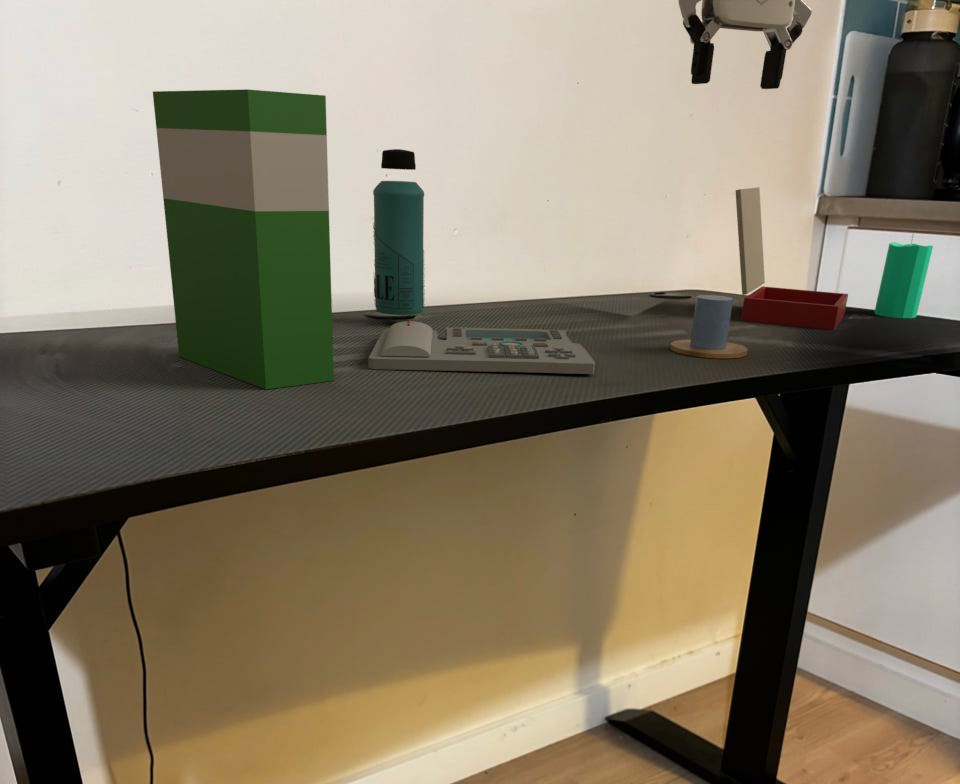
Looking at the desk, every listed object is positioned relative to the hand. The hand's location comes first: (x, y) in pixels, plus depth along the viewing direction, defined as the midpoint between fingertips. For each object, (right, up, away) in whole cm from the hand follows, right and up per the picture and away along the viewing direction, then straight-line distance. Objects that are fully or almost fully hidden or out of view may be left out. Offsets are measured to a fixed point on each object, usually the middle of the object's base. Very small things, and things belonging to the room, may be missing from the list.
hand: (735, 86), depth 116 cm
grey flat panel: (+8, -10, +19) cm, 23 cm away
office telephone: (-31, -35, -8) cm, 47 cm away
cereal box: (-53, -40, -19) cm, 69 cm away
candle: (+31, -19, +29) cm, 47 cm away
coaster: (-3, -32, -1) cm, 32 cm away
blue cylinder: (-4, -32, -1) cm, 32 cm away
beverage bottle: (-41, -26, +8) cm, 49 cm away
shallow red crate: (+14, -21, +22) cm, 33 cm away
